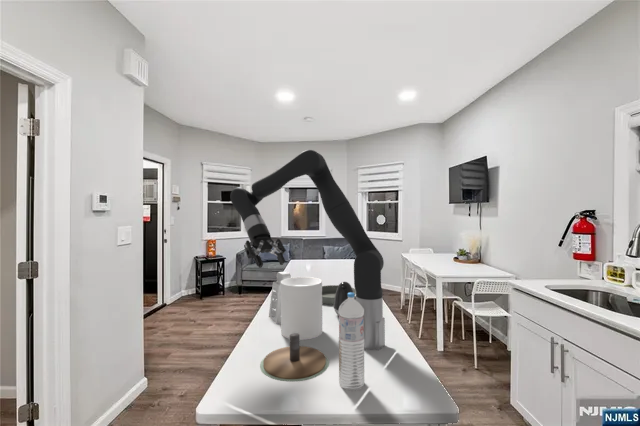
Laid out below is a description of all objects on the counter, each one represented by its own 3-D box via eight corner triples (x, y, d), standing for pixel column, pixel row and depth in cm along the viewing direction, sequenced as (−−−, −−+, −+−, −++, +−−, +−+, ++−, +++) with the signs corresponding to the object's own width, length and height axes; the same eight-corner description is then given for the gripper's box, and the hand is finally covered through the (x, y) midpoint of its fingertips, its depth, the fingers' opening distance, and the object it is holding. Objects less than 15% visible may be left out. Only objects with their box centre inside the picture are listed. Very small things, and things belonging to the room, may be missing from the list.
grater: (277, 324, 131) (276, 276, 130) (268, 316, 140) (268, 272, 140) (299, 319, 136) (299, 273, 135) (290, 312, 145) (290, 269, 145)
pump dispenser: (331, 318, 137) (331, 283, 137) (335, 311, 147) (335, 278, 147) (354, 320, 134) (354, 285, 134) (357, 312, 144) (357, 279, 144)
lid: (336, 357, 99) (336, 330, 99) (303, 386, 83) (303, 354, 83) (287, 344, 109) (287, 320, 109) (250, 368, 93) (249, 340, 93)
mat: (340, 358, 100) (340, 356, 100) (304, 391, 82) (304, 389, 82) (287, 344, 110) (287, 342, 110) (245, 371, 92) (245, 369, 92)
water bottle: (348, 376, 89) (347, 288, 89) (369, 384, 85) (368, 292, 85) (333, 386, 84) (333, 293, 84) (355, 396, 79) (354, 298, 79)
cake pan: (306, 295, 176) (306, 287, 176) (346, 291, 184) (346, 283, 183) (319, 307, 153) (318, 298, 153) (364, 303, 160) (364, 294, 160)
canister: (326, 327, 127) (326, 278, 126) (315, 343, 111) (315, 287, 111) (289, 323, 131) (289, 276, 131) (274, 338, 116) (273, 284, 115)
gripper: (242, 223, 110) (257, 260, 101) (277, 222, 119) (294, 256, 110) (235, 236, 114) (249, 273, 105) (269, 235, 123) (285, 269, 114)
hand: (272, 265), depth 108 cm, fingers open, 8 cm apart
